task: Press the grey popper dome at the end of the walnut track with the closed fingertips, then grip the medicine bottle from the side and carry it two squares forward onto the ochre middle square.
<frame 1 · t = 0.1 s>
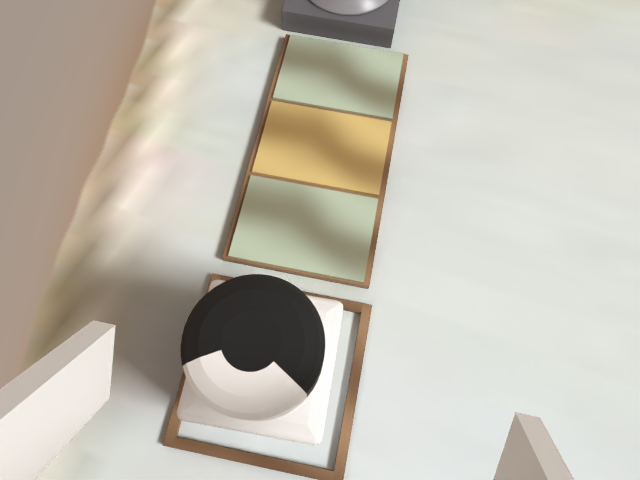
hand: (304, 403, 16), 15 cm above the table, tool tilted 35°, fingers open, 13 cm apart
medicine bottle: (273, 372, 31), on the table
track: (323, 151, 37), on the table
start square: (273, 372, 31), on the table
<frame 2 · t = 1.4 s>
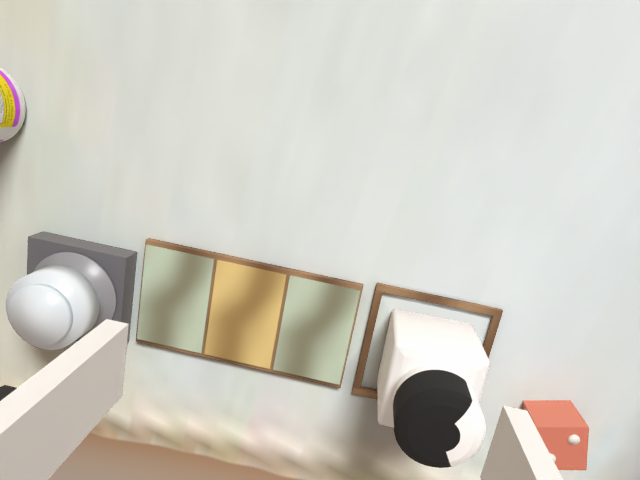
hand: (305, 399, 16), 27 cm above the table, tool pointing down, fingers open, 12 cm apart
popper base: (86, 287, 46), on the table
die: (545, 420, 44), on the table
medicine bottle: (423, 350, 44), on the table
dome: (50, 308, 41), point 5 cm above the table, slide at -0.2 cm
track: (246, 312, 45), on the table
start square: (424, 351, 44), on the table
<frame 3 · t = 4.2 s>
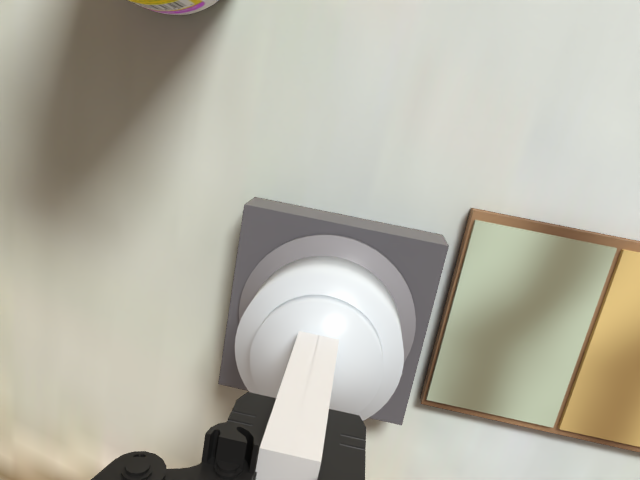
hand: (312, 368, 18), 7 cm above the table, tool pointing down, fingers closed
popper base: (330, 303, 25), on the table
dome: (320, 345, 20), point 5 cm above the table, slide at -0.8 cm, touching gripper
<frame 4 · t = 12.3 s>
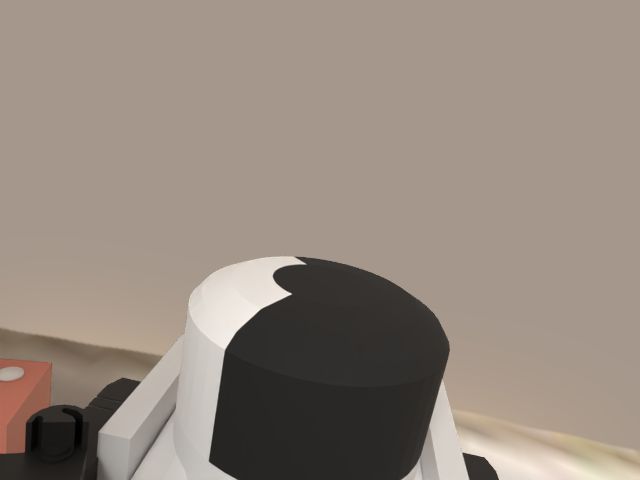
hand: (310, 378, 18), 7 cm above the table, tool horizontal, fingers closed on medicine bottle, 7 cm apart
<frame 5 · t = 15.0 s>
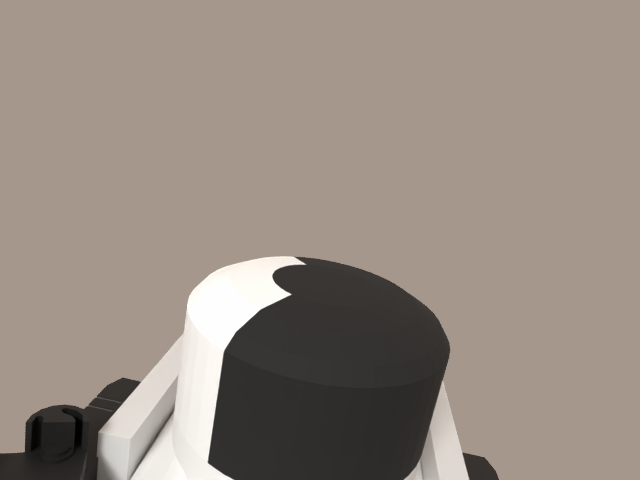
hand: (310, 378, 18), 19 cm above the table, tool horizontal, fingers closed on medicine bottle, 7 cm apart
when the fingers open (9 cm above the table, at t = 17.3 s): medicine bottle drops 1 cm, resting on track.
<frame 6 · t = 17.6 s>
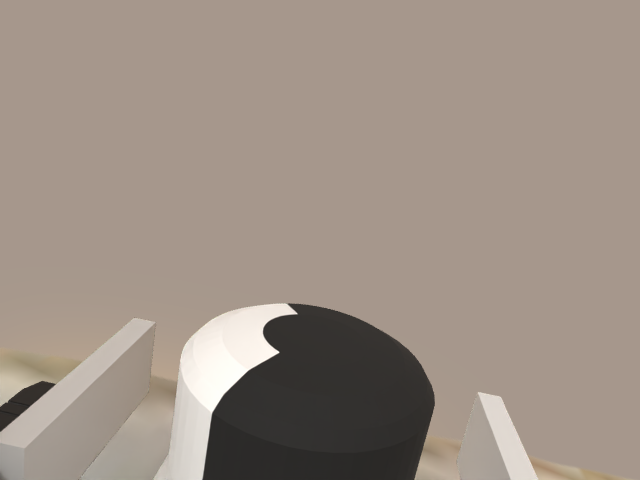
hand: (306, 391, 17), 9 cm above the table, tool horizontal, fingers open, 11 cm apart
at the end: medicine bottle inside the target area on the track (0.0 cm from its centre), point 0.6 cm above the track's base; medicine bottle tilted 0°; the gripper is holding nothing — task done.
